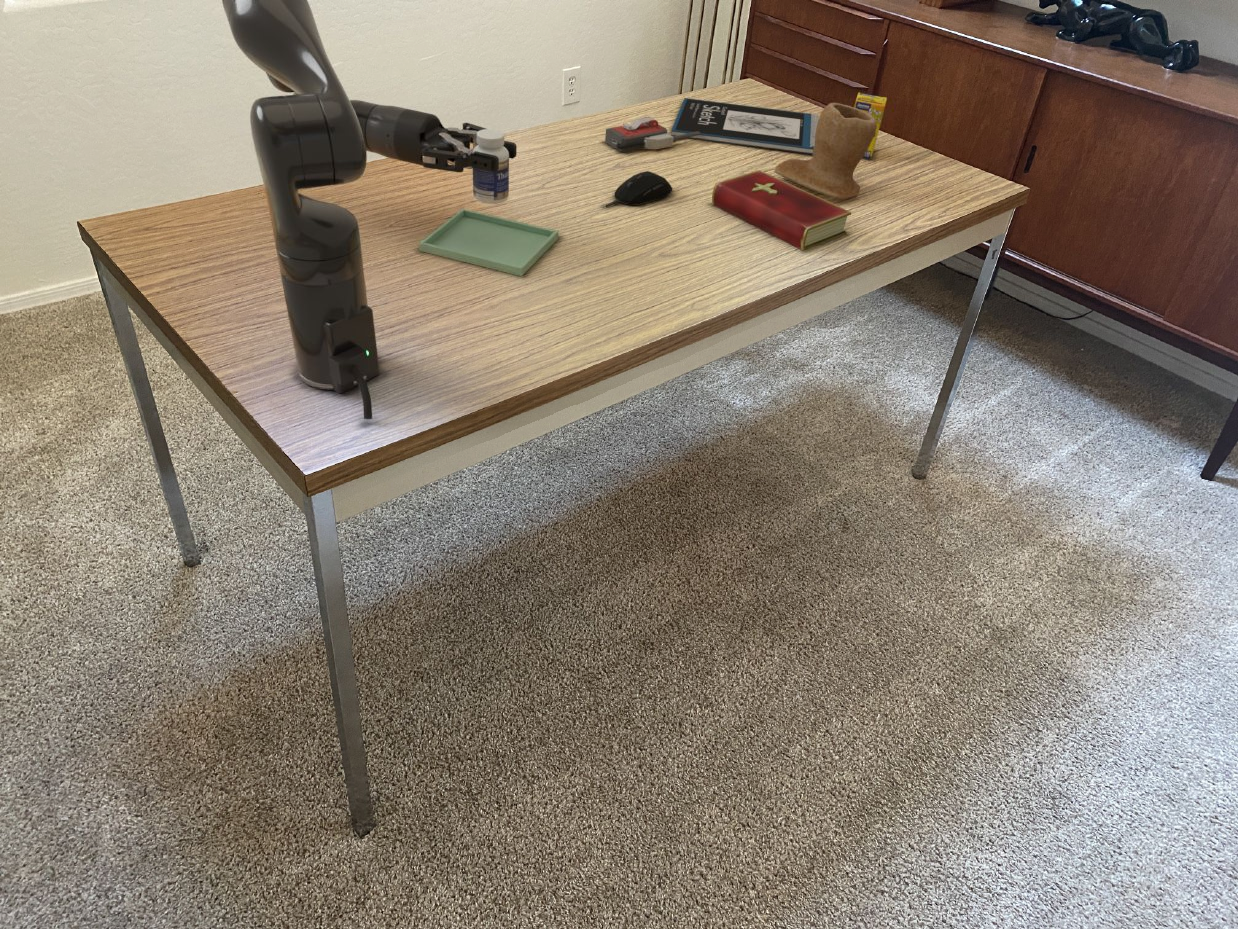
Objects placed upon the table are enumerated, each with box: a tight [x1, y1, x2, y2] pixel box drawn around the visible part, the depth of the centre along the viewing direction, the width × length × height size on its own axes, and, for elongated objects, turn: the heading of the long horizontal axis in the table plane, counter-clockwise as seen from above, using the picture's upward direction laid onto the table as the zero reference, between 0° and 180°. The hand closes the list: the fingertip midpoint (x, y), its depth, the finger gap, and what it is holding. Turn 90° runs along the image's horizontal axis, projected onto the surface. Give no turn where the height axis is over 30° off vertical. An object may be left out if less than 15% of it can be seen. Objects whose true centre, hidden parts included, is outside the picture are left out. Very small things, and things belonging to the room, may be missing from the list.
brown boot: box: [773, 102, 877, 200], centre depth 165 cm, size 15×12×15 cm
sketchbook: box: [670, 97, 820, 156], centre depth 191 cm, size 22×30×2 cm
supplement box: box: [853, 92, 888, 161], centre depth 181 cm, size 6×6×11 cm
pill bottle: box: [472, 128, 510, 205], centre depth 133 cm, size 5×5×10 cm
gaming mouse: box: [605, 170, 673, 208], centre depth 158 cm, size 6×15×4 cm, turn 133°
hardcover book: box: [711, 169, 853, 252], centre depth 155 cm, size 12×21×4 cm, turn 42°
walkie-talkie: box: [604, 116, 700, 153], centre depth 179 cm, size 9×4×20 cm
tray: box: [418, 208, 559, 277], centre depth 141 cm, size 17×14×1 cm
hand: (506, 157), depth 132 cm, fingers closed on pill bottle, 5 cm apart
